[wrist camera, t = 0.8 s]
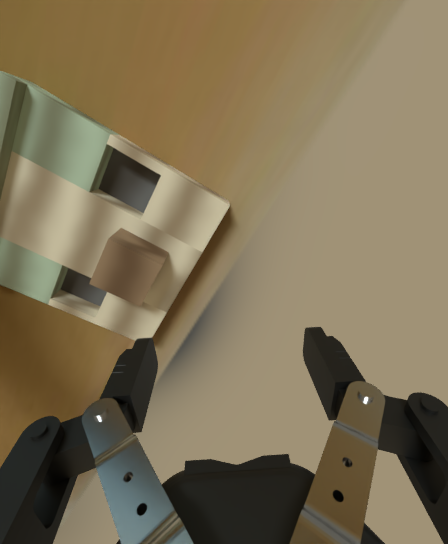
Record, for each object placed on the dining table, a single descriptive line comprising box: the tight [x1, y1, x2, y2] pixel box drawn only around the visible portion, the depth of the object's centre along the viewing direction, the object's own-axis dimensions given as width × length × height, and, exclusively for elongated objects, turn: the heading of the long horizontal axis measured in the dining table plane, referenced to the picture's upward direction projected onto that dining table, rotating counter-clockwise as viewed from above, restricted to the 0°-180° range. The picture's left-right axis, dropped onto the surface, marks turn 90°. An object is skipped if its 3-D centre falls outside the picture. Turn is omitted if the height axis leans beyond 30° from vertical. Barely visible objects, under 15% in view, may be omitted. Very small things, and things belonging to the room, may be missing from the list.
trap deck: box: [0, 71, 230, 341], centre depth 32 cm, size 24×23×4 cm
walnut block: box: [89, 228, 168, 306], centre depth 30 cm, size 6×6×4 cm
